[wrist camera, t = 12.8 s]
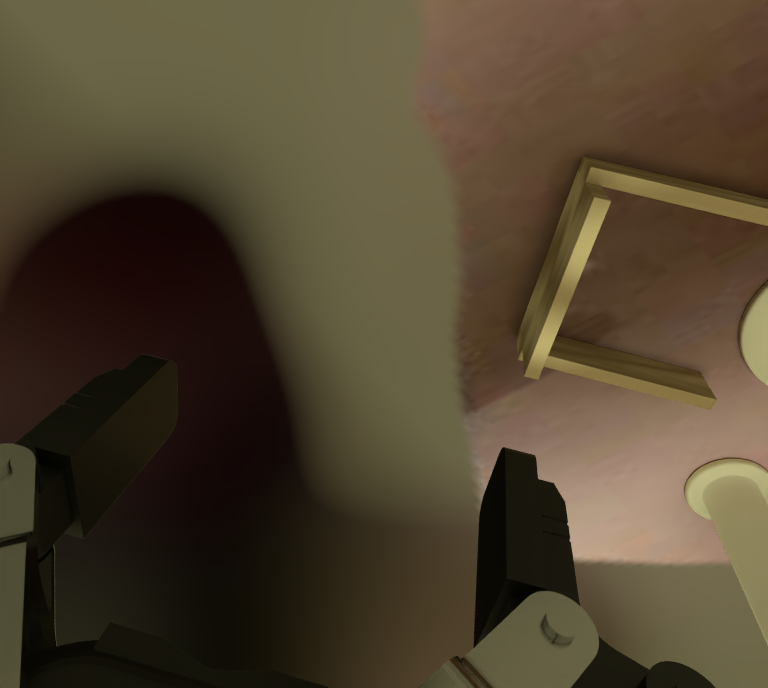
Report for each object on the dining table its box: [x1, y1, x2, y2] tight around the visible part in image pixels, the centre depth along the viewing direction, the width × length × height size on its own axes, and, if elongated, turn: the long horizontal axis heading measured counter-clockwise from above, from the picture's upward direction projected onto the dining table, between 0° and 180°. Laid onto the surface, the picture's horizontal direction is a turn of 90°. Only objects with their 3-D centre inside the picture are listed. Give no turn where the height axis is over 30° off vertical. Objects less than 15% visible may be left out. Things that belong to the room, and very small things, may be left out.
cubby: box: [517, 156, 768, 410], centre depth 38 cm, size 15×15×8 cm
